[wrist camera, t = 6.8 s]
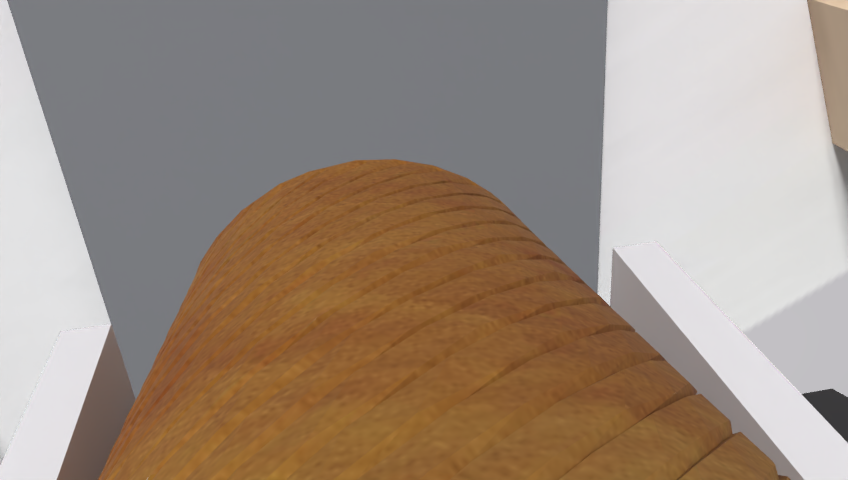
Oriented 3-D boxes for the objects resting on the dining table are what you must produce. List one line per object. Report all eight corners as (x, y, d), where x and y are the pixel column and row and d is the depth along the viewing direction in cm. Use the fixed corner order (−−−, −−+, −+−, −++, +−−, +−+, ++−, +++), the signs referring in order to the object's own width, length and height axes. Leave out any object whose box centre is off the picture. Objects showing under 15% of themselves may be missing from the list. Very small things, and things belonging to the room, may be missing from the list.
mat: (604, -180, 19) (613, -180, 19) (589, 320, 26) (595, 329, 26) (-24, -125, 18) (-33, -125, 17) (139, 390, 25) (136, 402, 24)
